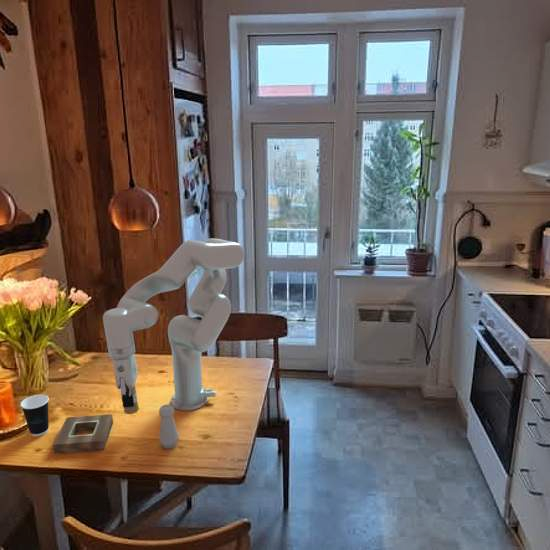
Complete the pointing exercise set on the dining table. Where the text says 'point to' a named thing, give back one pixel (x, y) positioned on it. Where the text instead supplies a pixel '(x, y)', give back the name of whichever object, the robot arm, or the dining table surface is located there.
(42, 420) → the dixie cup
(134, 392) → the sprinkles bottle
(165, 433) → the salt shaker
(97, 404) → the dining table surface
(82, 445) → the socket block
